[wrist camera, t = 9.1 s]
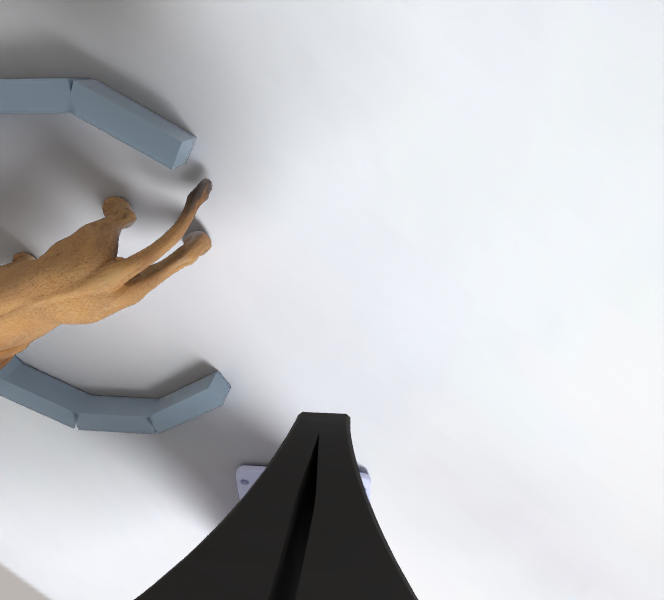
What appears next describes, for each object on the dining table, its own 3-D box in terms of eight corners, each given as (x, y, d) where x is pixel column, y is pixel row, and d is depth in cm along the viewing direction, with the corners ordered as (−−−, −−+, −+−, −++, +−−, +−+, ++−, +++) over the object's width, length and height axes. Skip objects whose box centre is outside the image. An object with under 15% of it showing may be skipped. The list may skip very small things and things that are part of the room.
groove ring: (235, 419, 26) (227, 438, 24) (-10, 406, 27) (-31, 423, 25) (187, 76, 18) (172, 76, 16) (-155, 81, 19) (-195, 82, 18)
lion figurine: (47, 362, 25) (-108, 498, 17) (-32, 288, 23) (-246, 401, 15) (250, 224, 20) (167, 322, 12) (170, 119, 19) (14, 152, 11)
